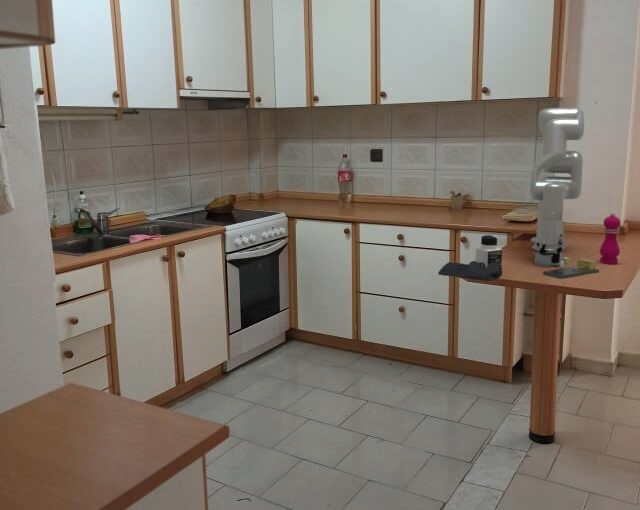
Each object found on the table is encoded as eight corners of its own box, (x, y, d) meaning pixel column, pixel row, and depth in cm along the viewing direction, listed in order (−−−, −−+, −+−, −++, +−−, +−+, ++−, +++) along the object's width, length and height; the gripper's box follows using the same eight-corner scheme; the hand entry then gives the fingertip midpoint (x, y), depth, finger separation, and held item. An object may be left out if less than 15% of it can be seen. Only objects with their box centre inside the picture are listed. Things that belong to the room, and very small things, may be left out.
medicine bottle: (487, 269, 244) (488, 238, 241) (474, 265, 250) (476, 235, 247) (501, 267, 247) (503, 236, 244) (488, 263, 253) (490, 233, 251)
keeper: (543, 274, 235) (543, 260, 234) (580, 267, 244) (581, 255, 243) (560, 278, 228) (561, 264, 227) (598, 272, 237) (599, 258, 236)
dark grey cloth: (449, 267, 249) (449, 255, 248) (506, 274, 237) (506, 261, 236) (434, 275, 236) (435, 263, 235) (493, 283, 225) (494, 269, 224)
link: (534, 263, 252) (535, 253, 251) (551, 261, 256) (551, 251, 255) (546, 266, 247) (547, 256, 246) (563, 264, 251) (563, 254, 250)
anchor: (552, 261, 256) (553, 254, 256) (558, 260, 258) (558, 253, 257) (564, 263, 251) (565, 257, 251) (570, 263, 253) (570, 256, 252)
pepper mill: (620, 264, 249) (625, 213, 245) (600, 264, 250) (605, 213, 246) (616, 260, 256) (620, 211, 251) (596, 260, 257) (600, 210, 253)
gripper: (528, 213, 253) (525, 258, 257) (563, 219, 238) (559, 266, 242) (541, 212, 257) (539, 256, 260) (577, 217, 242) (573, 264, 245)
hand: (549, 261), depth 251 cm, fingers closed on link, 6 cm apart
